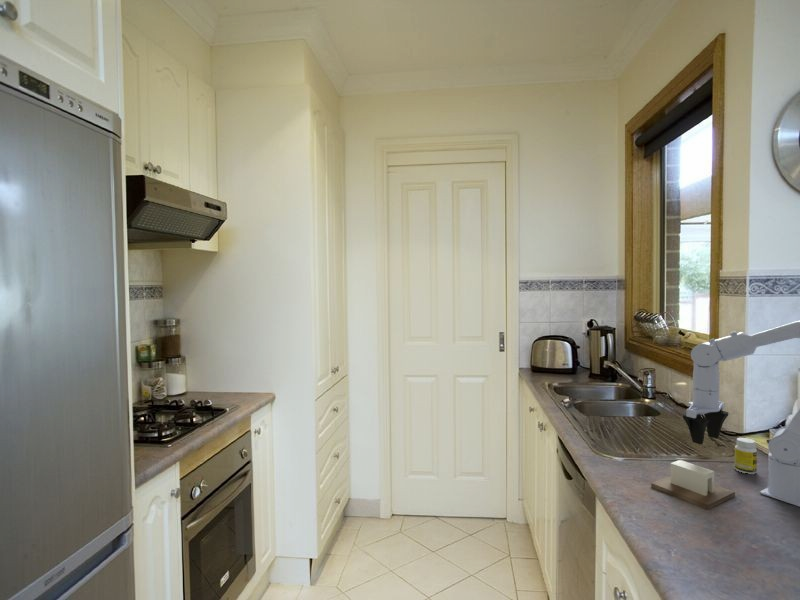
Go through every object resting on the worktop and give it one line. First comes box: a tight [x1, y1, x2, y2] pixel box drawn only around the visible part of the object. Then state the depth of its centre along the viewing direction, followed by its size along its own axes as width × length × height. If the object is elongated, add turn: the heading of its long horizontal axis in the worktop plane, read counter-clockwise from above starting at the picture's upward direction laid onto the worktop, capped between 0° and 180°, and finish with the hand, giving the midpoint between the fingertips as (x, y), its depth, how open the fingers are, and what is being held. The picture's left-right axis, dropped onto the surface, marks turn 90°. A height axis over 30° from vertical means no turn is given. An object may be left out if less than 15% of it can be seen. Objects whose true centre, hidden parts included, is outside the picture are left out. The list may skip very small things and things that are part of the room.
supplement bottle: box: [734, 437, 758, 475], centre depth 120 cm, size 5×5×8 cm
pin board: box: [650, 474, 736, 510], centre depth 110 cm, size 13×12×3 cm
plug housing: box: [670, 459, 715, 496], centre depth 110 cm, size 8×4×5 cm, turn 29°
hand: (705, 440), depth 118 cm, fingers open, 7 cm apart
